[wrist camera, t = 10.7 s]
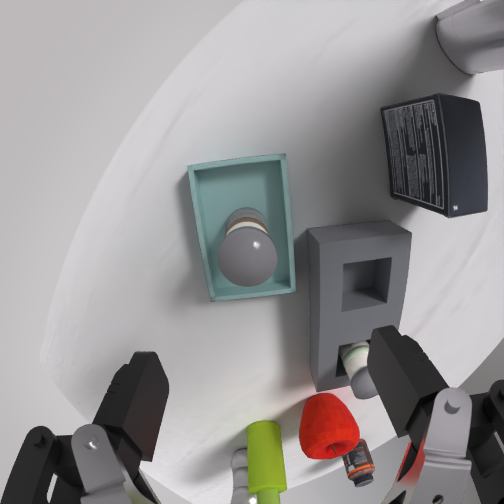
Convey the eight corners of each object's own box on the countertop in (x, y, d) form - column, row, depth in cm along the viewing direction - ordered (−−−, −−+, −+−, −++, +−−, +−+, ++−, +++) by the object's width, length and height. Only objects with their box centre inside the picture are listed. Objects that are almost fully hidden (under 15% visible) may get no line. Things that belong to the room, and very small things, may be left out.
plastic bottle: (262, 457, 45) (267, 535, 26) (230, 457, 45) (229, 535, 26) (265, 445, 43) (271, 531, 24) (230, 444, 43) (229, 531, 24)
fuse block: (307, 228, 28) (336, 265, 19) (389, 220, 28) (440, 249, 19) (309, 366, 35) (324, 421, 26) (374, 353, 35) (400, 401, 26)
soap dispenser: (272, 414, 39) (283, 520, 20) (283, 432, 41) (295, 525, 23) (239, 421, 40) (239, 524, 21) (253, 438, 42) (257, 530, 23)
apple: (299, 420, 40) (309, 471, 30) (287, 394, 37) (296, 452, 27) (348, 405, 39) (365, 453, 29) (342, 376, 37) (363, 431, 26)
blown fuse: (223, 209, 27) (213, 235, 19) (265, 205, 27) (274, 228, 19) (228, 249, 28) (222, 289, 20) (269, 244, 28) (279, 283, 20)
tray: (192, 165, 26) (187, 166, 23) (281, 154, 26) (285, 153, 23) (213, 290, 31) (210, 301, 28) (292, 281, 31) (296, 292, 28)
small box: (431, 193, 27) (490, 213, 17) (389, 198, 27) (447, 222, 18) (422, 108, 24) (483, 101, 14) (378, 106, 24) (436, 91, 14)
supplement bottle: (336, 446, 45) (346, 487, 34) (360, 435, 44) (374, 476, 33) (345, 453, 47) (355, 490, 36) (368, 442, 46) (381, 479, 35)
